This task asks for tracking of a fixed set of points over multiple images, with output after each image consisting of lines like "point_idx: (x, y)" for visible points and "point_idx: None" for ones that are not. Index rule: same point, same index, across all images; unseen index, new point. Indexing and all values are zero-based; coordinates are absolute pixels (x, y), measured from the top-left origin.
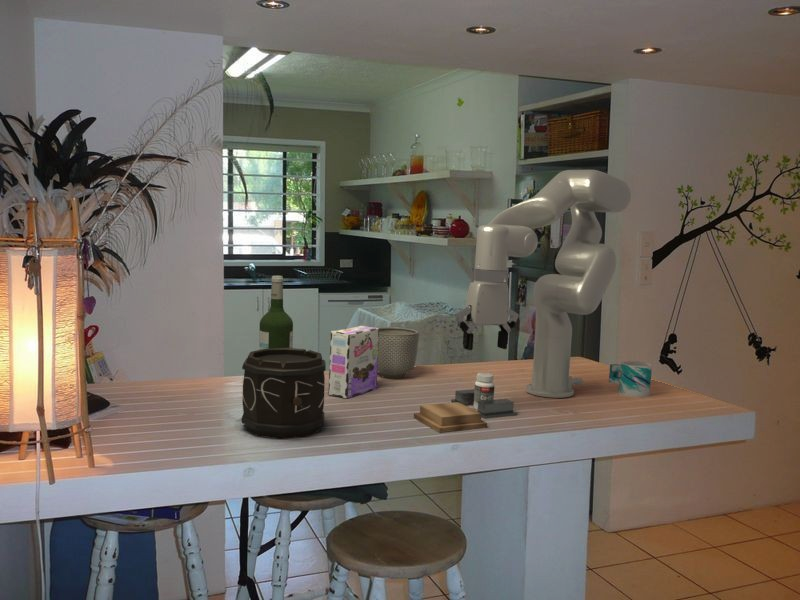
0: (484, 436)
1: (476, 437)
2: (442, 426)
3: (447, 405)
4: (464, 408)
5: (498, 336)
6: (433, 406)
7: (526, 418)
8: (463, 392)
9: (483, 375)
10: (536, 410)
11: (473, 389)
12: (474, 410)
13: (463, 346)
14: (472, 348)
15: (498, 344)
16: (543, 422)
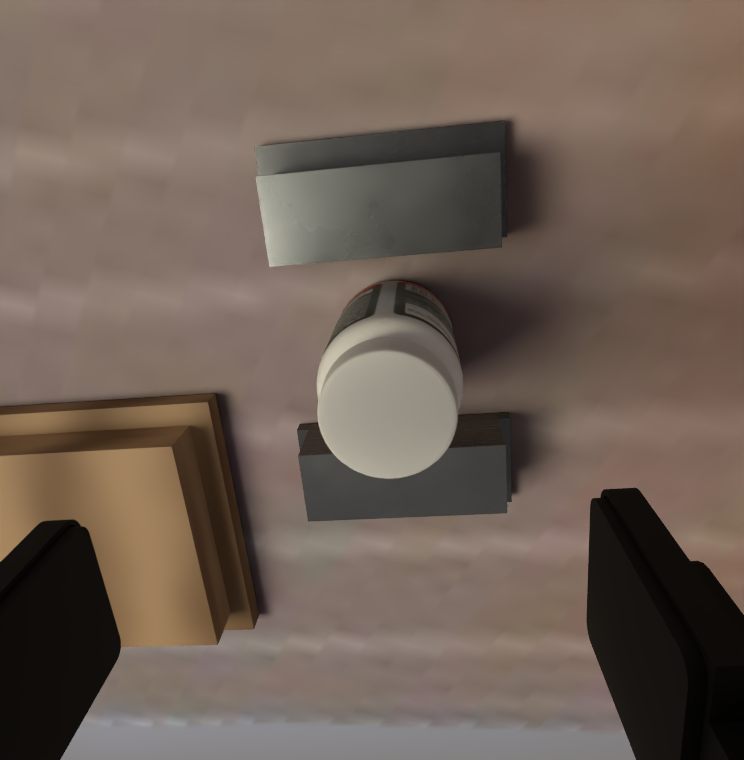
0: (201, 695)
1: (165, 696)
2: None
3: (89, 490)
4: (164, 558)
5: (647, 609)
6: (8, 490)
7: (521, 550)
8: (295, 236)
9: (355, 444)
10: (678, 444)
11: (410, 165)
12: (202, 599)
13: (39, 528)
14: (113, 662)
15: (601, 537)
16: (560, 618)
